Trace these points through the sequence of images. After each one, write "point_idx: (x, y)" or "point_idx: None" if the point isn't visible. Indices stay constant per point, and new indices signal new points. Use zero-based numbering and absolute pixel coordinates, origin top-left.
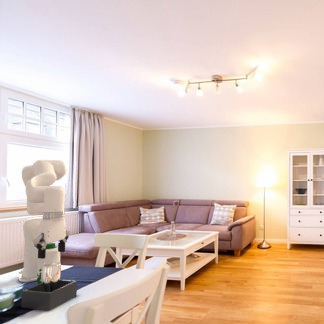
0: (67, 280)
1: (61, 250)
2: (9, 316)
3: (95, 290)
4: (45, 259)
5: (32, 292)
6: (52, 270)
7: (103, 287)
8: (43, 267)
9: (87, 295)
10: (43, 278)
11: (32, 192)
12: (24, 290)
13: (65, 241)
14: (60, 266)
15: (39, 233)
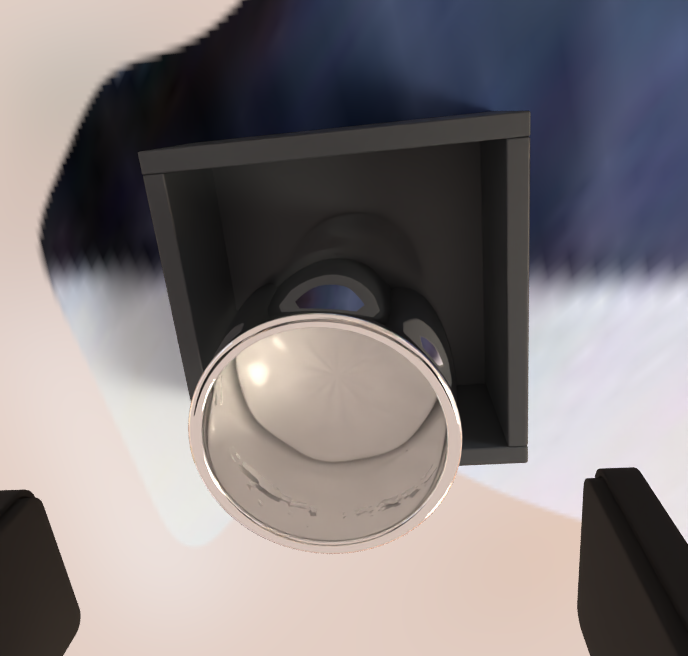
0: (517, 360)
1: (592, 595)
2: (74, 210)
3: (637, 443)
4: None
5: (168, 289)
6: (266, 496)
7: None
8: (193, 413)
9: (531, 456)
10: (232, 360)
11: None
12: (151, 172)
13: None
14: (396, 510)
15: None
